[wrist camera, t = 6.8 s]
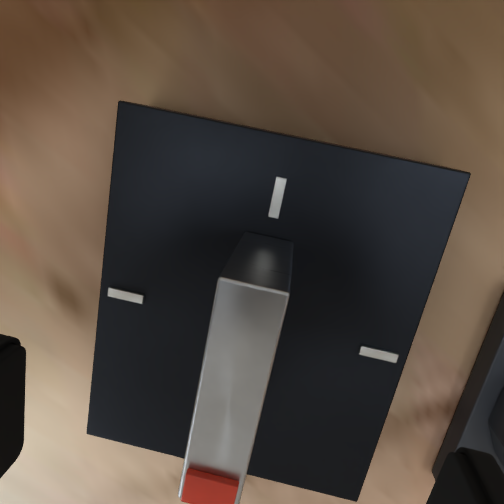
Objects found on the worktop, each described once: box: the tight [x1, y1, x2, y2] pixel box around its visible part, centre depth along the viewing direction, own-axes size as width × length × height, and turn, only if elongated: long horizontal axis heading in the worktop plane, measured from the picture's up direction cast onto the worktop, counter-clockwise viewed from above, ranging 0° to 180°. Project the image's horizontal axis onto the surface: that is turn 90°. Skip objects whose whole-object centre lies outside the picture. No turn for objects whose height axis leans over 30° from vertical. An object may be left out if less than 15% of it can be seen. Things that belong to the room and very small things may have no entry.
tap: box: [178, 232, 293, 504], centre depth 13 cm, size 7×2×5 cm, turn 169°
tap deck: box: [87, 101, 471, 502], centre depth 17 cm, size 14×12×3 cm
